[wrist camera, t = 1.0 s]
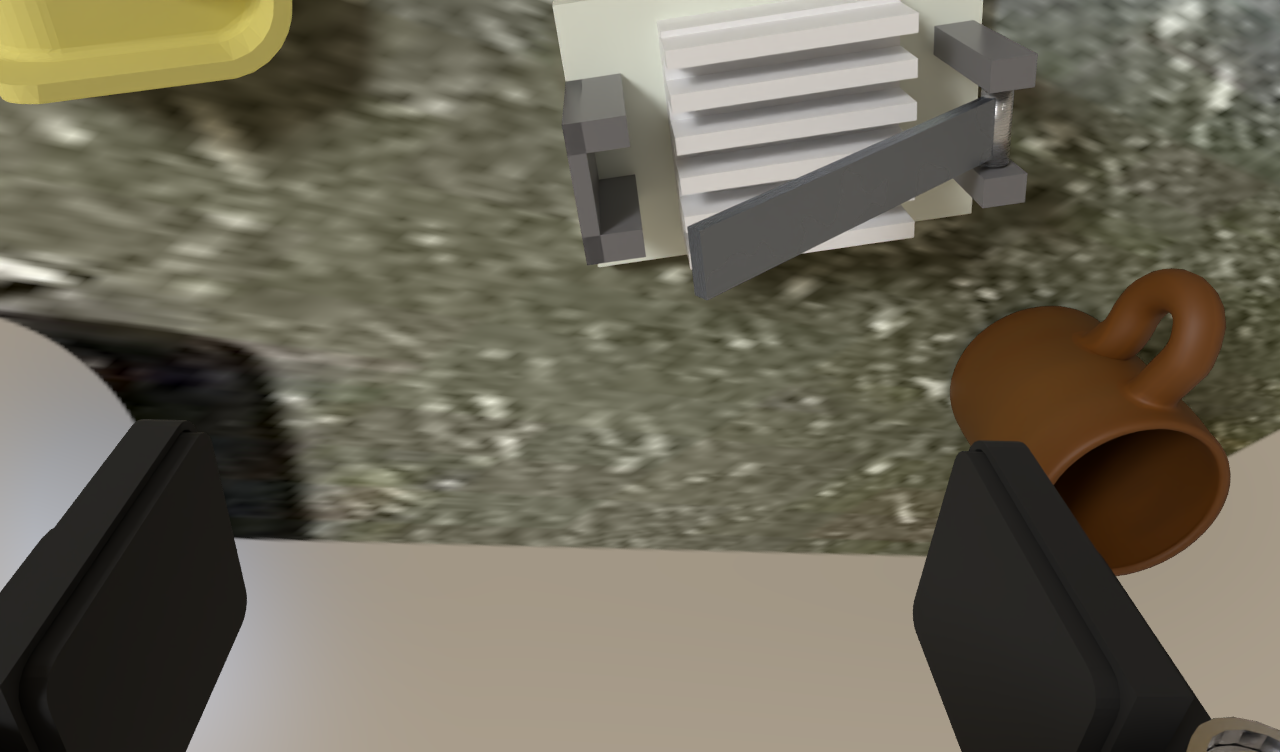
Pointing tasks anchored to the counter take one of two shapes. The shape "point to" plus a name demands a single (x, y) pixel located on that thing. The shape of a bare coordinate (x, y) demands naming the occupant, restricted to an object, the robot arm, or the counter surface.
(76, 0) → the plastic component
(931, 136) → the grey long flat bar
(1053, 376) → the mug
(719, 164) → the heatsink board
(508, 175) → the counter surface
